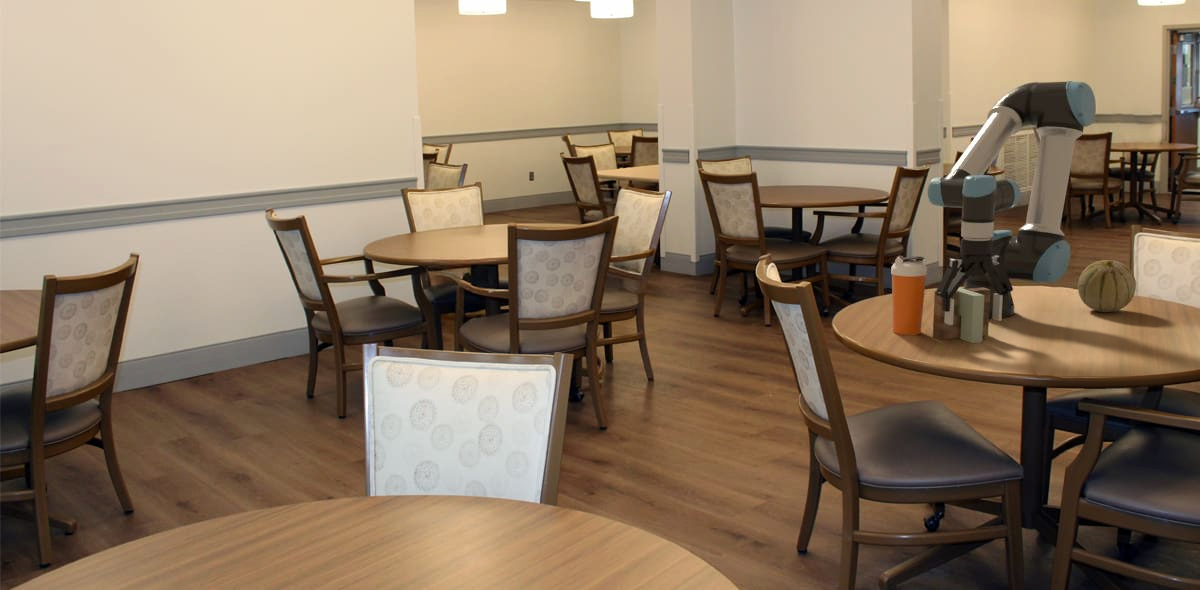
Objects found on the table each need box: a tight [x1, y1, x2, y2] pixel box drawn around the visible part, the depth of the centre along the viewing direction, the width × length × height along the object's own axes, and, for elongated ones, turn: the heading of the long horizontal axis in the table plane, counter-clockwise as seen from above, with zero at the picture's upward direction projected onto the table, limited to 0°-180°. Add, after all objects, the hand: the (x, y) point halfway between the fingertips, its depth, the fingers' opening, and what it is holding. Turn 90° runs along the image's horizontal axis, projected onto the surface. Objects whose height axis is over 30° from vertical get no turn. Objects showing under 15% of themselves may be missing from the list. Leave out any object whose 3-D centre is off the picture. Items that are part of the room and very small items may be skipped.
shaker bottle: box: [890, 255, 928, 336], centre depth 263 cm, size 9×9×20 cm
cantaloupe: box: [1077, 259, 1137, 313], centre depth 281 cm, size 15×15×15 cm
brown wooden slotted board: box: [932, 288, 990, 341], centre depth 258 cm, size 14×3×12 cm, turn 103°
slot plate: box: [956, 286, 984, 344], centre depth 258 cm, size 14×3×12 cm, turn 13°
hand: (972, 321), depth 254 cm, fingers open, 13 cm apart
